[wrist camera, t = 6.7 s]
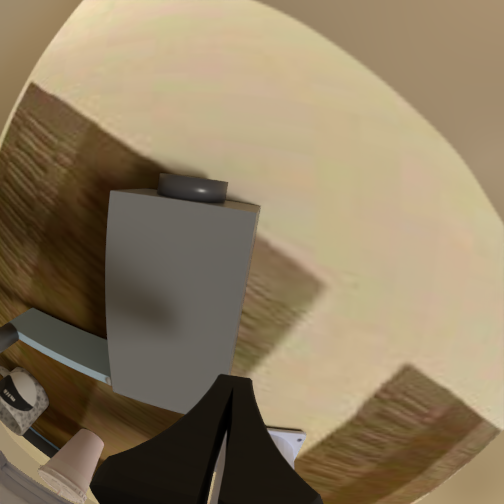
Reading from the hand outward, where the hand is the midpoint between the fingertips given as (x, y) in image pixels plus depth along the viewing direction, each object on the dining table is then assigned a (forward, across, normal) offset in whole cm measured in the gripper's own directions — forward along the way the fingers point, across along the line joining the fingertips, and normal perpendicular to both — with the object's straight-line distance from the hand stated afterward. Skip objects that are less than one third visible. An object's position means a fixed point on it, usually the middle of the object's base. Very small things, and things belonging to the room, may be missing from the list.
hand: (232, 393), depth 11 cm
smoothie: (+10, +17, +23) cm, 31 cm away
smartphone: (+10, +30, +35) cm, 47 cm away
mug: (+10, +28, +18) cm, 35 cm away
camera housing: (+9, +4, 0) cm, 10 cm away
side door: (+9, +15, +6) cm, 18 cm away
